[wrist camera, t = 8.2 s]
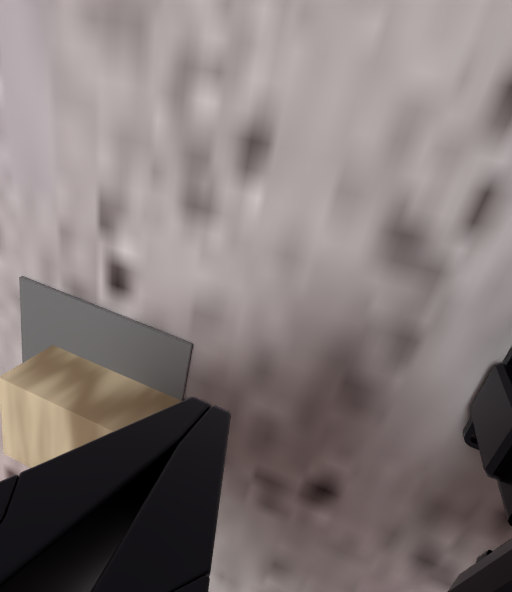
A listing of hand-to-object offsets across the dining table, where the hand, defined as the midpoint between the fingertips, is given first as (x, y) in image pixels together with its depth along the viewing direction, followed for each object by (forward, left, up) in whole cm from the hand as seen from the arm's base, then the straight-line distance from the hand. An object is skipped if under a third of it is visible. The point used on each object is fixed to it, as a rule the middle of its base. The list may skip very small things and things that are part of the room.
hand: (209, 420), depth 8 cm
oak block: (+5, +14, -10) cm, 18 cm away
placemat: (+11, +14, -12) cm, 22 cm away
